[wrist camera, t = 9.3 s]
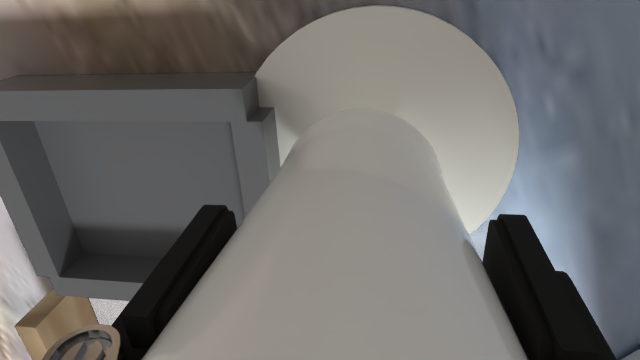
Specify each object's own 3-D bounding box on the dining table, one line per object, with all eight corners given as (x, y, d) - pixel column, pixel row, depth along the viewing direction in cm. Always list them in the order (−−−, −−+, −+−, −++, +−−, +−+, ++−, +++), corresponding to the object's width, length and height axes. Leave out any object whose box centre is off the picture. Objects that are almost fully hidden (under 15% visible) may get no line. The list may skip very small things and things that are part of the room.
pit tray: (276, 71, 16) (258, 88, 14) (296, 276, 21) (285, 313, 19) (4, 76, 18) (-48, 91, 16) (78, 263, 23) (45, 294, 21)
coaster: (538, -2, 14) (546, 0, 13) (492, 260, 19) (496, 271, 18) (226, 10, 16) (218, 13, 15) (260, 248, 21) (255, 257, 20)
